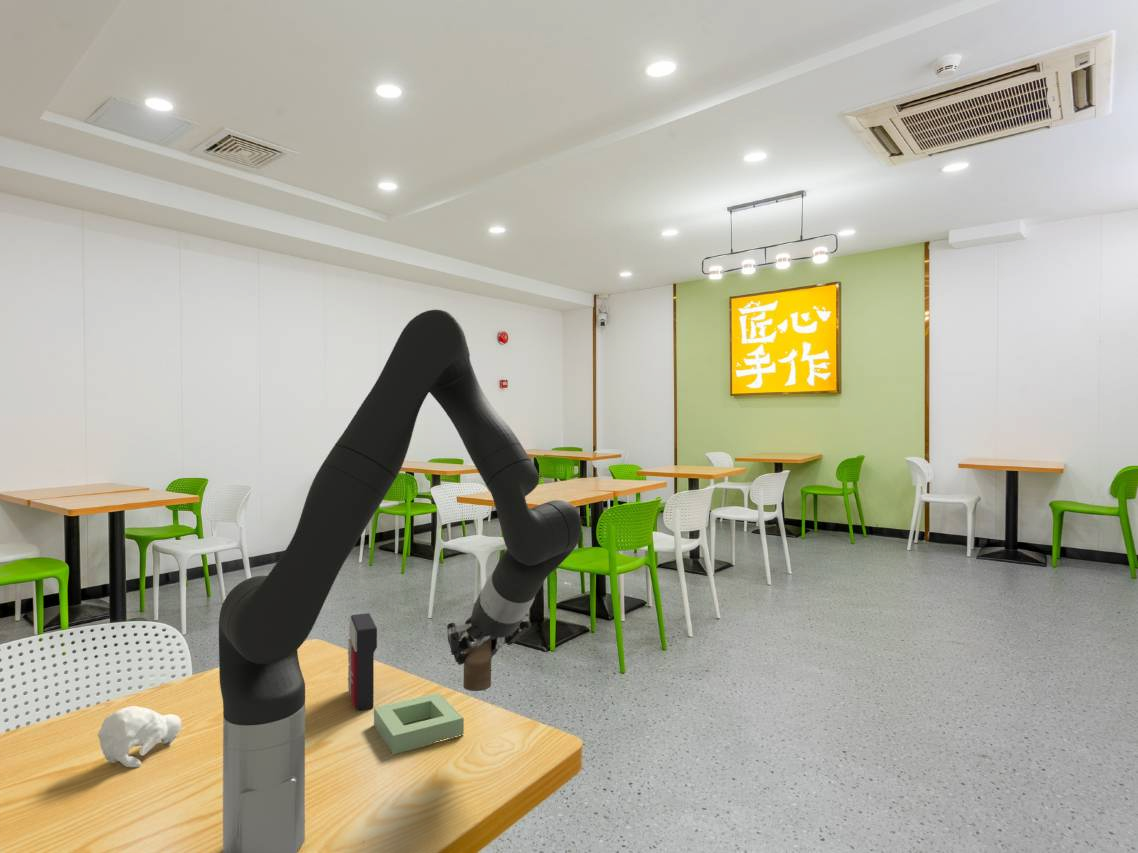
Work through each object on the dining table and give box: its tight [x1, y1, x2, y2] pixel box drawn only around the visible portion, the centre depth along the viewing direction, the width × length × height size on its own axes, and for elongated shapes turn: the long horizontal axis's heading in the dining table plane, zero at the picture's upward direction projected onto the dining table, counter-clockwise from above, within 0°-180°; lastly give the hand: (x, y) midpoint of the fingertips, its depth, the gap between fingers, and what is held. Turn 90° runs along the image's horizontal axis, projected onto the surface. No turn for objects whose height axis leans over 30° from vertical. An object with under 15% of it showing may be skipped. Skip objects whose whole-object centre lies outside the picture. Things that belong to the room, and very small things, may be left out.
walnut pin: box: [462, 640, 492, 692], centre depth 102 cm, size 4×4×9 cm
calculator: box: [347, 612, 378, 711], centre depth 122 cm, size 11×4×15 cm, turn 25°
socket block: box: [373, 692, 465, 755], centre depth 109 cm, size 12×12×3 cm
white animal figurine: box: [97, 705, 182, 768], centre depth 101 cm, size 6×8×12 cm
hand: (472, 656), depth 103 cm, fingers closed on walnut pin, 4 cm apart
